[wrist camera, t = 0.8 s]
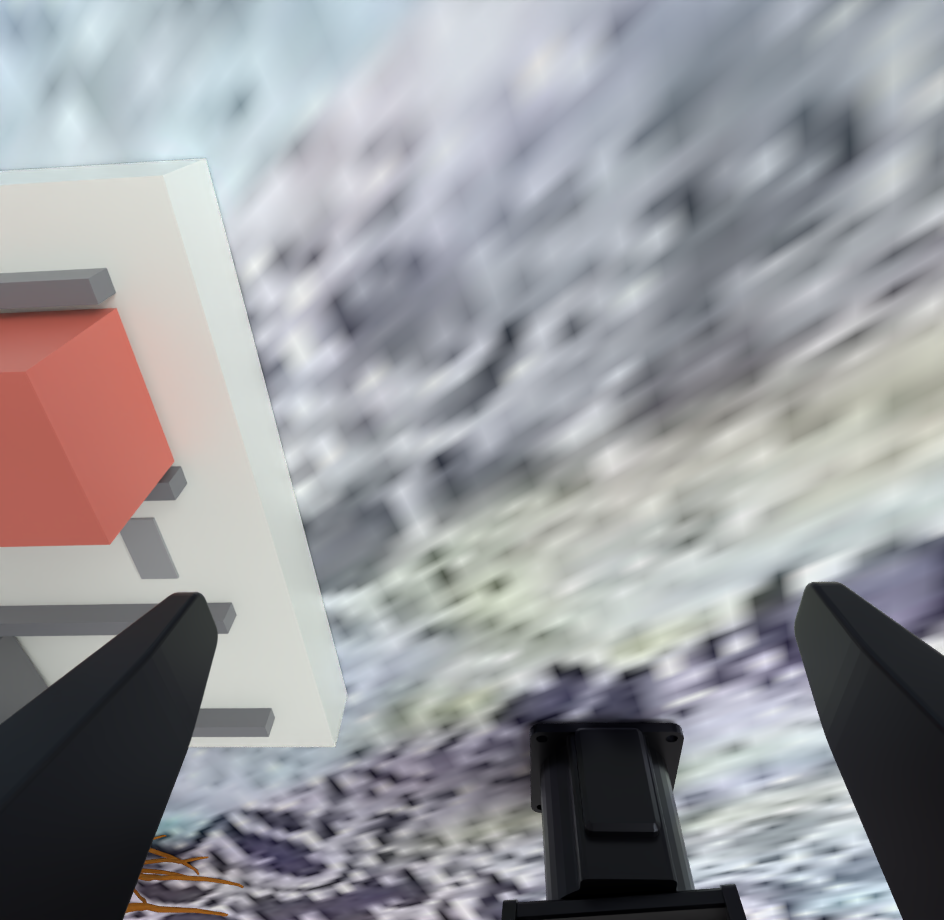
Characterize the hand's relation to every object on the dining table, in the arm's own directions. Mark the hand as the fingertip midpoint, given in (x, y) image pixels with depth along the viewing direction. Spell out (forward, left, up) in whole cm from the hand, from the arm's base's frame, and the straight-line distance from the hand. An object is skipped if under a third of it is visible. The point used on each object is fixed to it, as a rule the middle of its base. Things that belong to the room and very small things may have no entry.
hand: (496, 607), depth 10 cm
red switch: (0, +11, -8) cm, 13 cm away
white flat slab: (-3, +15, -10) cm, 18 cm away
